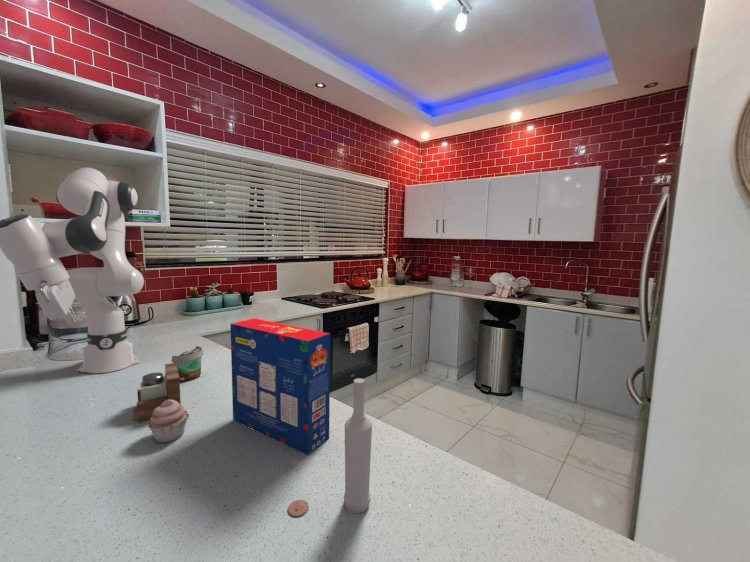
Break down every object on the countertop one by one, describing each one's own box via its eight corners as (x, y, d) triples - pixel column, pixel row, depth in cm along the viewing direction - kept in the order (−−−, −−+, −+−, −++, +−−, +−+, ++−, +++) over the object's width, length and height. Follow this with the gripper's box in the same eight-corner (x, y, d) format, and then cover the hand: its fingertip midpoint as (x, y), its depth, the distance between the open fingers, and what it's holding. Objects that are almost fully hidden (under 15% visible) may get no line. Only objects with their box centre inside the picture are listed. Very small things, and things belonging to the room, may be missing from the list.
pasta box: (329, 438, 86) (330, 333, 82) (307, 455, 79) (307, 341, 76) (256, 409, 100) (254, 318, 97) (233, 420, 93) (230, 323, 90)
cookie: (308, 500, 65) (308, 495, 65) (308, 516, 61) (308, 511, 61) (288, 502, 65) (288, 498, 64) (287, 519, 61) (287, 514, 60)
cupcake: (145, 451, 79) (142, 411, 78) (150, 431, 87) (148, 395, 86) (190, 441, 83) (188, 403, 82) (191, 423, 91) (189, 388, 90)
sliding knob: (142, 405, 99) (140, 373, 98) (165, 400, 103) (164, 369, 101) (142, 416, 94) (139, 382, 92) (167, 410, 97) (165, 377, 96)
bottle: (343, 494, 67) (345, 375, 64) (369, 492, 67) (372, 374, 64) (343, 514, 62) (345, 386, 59) (371, 513, 62) (374, 386, 59)
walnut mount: (134, 404, 101) (132, 369, 100) (177, 395, 107) (175, 362, 106) (133, 425, 90) (130, 386, 88) (181, 414, 96) (179, 377, 95)
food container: (187, 385, 115) (186, 357, 114) (172, 383, 116) (171, 356, 115) (211, 372, 127) (210, 346, 126) (197, 370, 128) (196, 345, 127)
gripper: (54, 281, 81) (83, 329, 86) (66, 267, 97) (89, 308, 102) (20, 290, 77) (52, 340, 83) (38, 274, 94) (64, 317, 99)
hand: (73, 322), depth 92 cm, fingers closed
